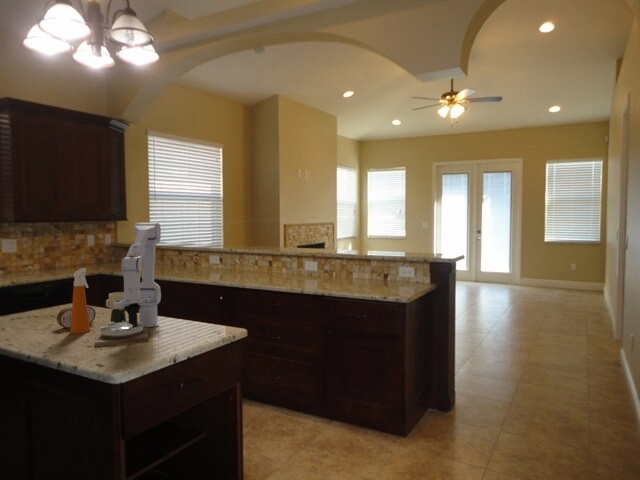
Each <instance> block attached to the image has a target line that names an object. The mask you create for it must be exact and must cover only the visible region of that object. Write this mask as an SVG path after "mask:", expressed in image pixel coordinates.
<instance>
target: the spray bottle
mask: <svg viewBox="0 0 640 480" xmlns="http://www.w3.org/2000/svg"><path fill="white" fill-rule="evenodd" d="M86 272H87V268H85V267H84V268H83V267H81V268H79V269H77V270H76V271H74V273H73V278H74V281H73V292H72V304H71V305H72V306H71V307H72V317H71V328H70V333H71V334H73V335H75V334H76V335H79V334H86V333H88V332H90V331H91V326H90V324H89V318H88V311H87V305H88V304H87V297H86V291H85V288H86V289H88V288H90V287H89V285H88V283H87V279H86Z"/></svg>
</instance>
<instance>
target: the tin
mask: <svg viewBox="0 0 640 480" xmlns="http://www.w3.org/2000/svg"><path fill="white" fill-rule="evenodd" d="M87 311H88V318H89V325H90V324H91V323H93V322H94V320H95V319H96V315H97V314H96V310H95V309H94V307H92V306H90V305H88V304H87ZM71 317H72V306H69V307H65V308H63V309H61V310H60V311H59V312H58V314H57V316H56V323H57V324H58V325H59V326H60V327H62V328H65V329H71Z"/></svg>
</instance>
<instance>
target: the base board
mask: <svg viewBox="0 0 640 480" xmlns="http://www.w3.org/2000/svg"><path fill="white" fill-rule="evenodd" d="M143 342H144V343H145V342H149V335H148V327H147V326H143V332H142V333H141V334H139V335H136V336H132V337H127V338H104V337H102V336H101V329H99V330H97V334H96V338H95V341H94V346H95V348H96V347H107V346H113V345H114V346H115V345H125V344H133V343H143Z"/></svg>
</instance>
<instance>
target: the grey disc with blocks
mask: <svg viewBox="0 0 640 480" xmlns="http://www.w3.org/2000/svg"><path fill="white" fill-rule="evenodd" d="M138 317H139V313H137V315H136V324H129V319H126V322H124V321H122V322H121V323H115V322H107V325H103V326H100V330H101V336H102V337H104V338H127V337H132V336H136V335H139V334H141V333H142V332H143V322H139V321H138V320H139V319H138ZM138 322H139V323H138Z"/></svg>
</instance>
